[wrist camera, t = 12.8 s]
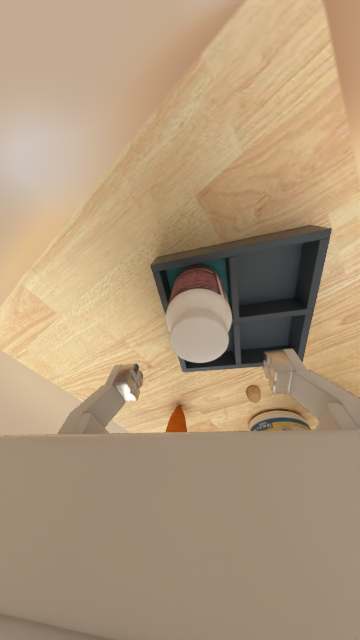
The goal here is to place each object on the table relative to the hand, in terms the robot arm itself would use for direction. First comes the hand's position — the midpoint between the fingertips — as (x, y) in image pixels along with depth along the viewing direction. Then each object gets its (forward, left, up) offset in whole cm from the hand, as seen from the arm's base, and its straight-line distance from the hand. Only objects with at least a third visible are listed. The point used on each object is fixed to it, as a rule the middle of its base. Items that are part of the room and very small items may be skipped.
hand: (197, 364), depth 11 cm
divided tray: (+4, +4, -14) cm, 16 cm away
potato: (+24, +7, -15) cm, 29 cm away
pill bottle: (0, 0, -14) cm, 14 cm away
